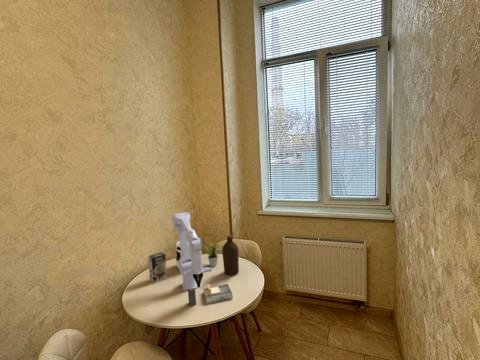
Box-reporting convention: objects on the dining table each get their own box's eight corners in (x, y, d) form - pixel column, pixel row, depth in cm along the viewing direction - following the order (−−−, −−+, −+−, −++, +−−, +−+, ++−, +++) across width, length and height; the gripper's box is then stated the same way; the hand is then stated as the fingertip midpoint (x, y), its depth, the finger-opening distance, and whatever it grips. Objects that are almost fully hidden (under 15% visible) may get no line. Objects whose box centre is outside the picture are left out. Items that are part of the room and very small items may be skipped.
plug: (188, 302, 134) (187, 288, 133) (195, 301, 135) (194, 286, 134) (189, 306, 131) (188, 291, 130) (196, 304, 132) (195, 290, 131)
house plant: (229, 264, 179) (227, 241, 178) (214, 271, 169) (212, 247, 168) (216, 259, 189) (214, 238, 188) (201, 265, 180) (199, 243, 178)
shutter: (207, 289, 141) (207, 284, 140) (218, 287, 142) (217, 282, 142) (209, 295, 135) (208, 289, 135) (220, 293, 137) (219, 287, 136)
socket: (203, 292, 143) (203, 287, 143) (227, 287, 147) (227, 282, 147) (206, 303, 132) (206, 298, 132) (232, 298, 136) (232, 293, 135)
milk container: (196, 259, 191) (194, 236, 190) (205, 267, 176) (203, 242, 175) (173, 265, 182) (171, 241, 181) (180, 274, 168) (178, 248, 166)
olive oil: (236, 277, 159) (233, 238, 157) (220, 275, 163) (218, 237, 161) (242, 270, 169) (239, 233, 167) (227, 268, 173) (225, 232, 171)
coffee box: (153, 283, 157) (151, 258, 156) (149, 280, 162) (147, 255, 160) (167, 278, 163) (165, 254, 162) (163, 275, 168) (161, 251, 166)
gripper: (183, 267, 129) (185, 293, 130) (211, 262, 133) (213, 287, 134) (182, 262, 136) (184, 286, 137) (209, 257, 140) (211, 281, 141)
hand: (198, 286), depth 136 cm, fingers closed
